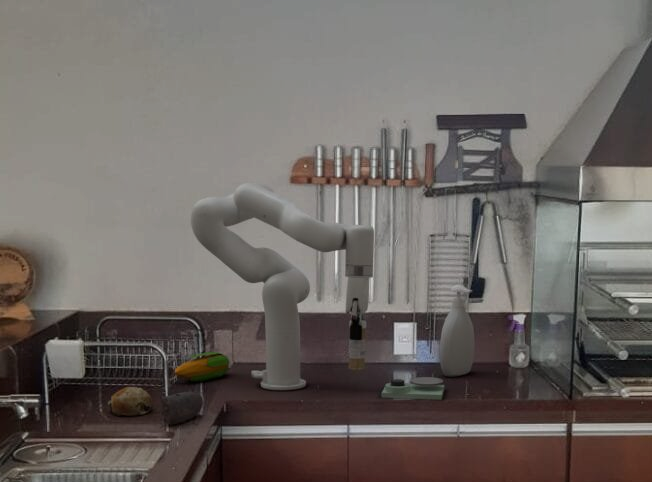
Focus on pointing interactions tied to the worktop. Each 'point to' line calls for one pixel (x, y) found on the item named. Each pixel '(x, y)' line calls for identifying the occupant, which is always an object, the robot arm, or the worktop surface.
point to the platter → (426, 381)
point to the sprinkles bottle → (357, 351)
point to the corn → (204, 367)
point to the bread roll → (131, 402)
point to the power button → (397, 382)
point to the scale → (413, 391)
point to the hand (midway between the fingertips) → (357, 337)
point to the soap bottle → (457, 338)
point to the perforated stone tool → (180, 407)
